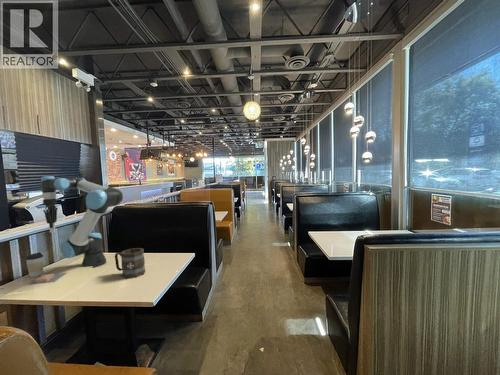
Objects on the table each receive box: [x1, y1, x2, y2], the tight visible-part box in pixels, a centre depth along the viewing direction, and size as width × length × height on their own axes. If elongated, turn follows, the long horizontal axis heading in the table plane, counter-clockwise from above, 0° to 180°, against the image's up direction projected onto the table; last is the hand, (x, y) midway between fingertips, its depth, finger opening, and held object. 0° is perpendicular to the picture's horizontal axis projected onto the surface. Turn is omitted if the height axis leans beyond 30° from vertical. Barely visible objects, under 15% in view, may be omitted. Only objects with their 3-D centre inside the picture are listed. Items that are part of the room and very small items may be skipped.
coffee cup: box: [25, 251, 45, 278], centre depth 170 cm, size 9×9×15 cm
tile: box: [34, 273, 55, 283], centre depth 160 cm, size 6×2×8 cm
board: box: [24, 272, 69, 286], centre depth 162 cm, size 16×16×1 cm
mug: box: [114, 247, 146, 279], centre depth 165 cm, size 20×14×15 cm
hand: (52, 232), depth 181 cm, fingers closed
